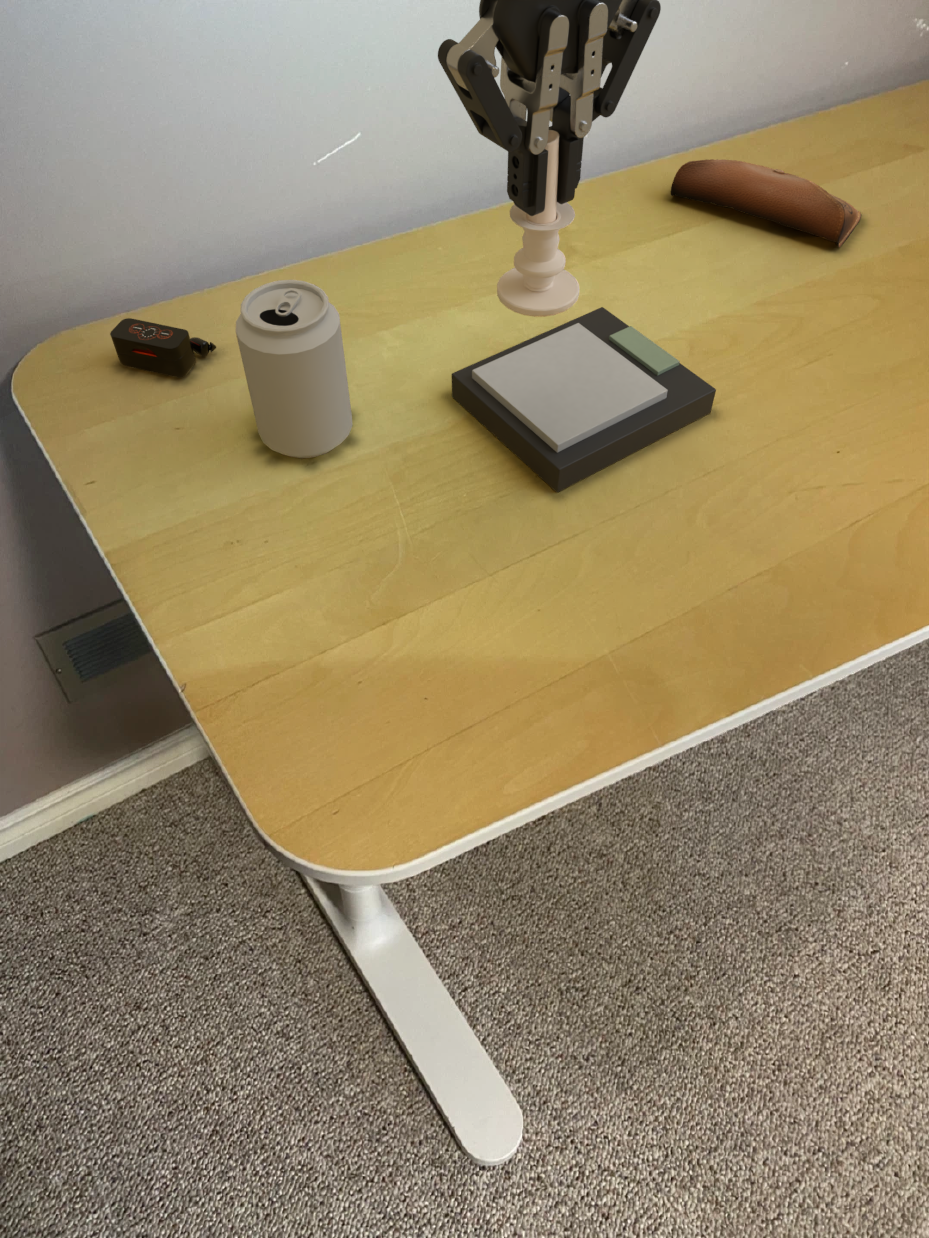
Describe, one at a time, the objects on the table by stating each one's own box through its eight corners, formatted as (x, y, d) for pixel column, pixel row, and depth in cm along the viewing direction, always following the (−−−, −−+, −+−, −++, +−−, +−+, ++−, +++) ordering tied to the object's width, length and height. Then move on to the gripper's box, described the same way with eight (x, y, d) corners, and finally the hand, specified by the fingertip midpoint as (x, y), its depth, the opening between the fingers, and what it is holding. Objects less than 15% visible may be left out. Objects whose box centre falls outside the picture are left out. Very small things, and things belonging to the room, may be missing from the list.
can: (243, 452, 76) (210, 320, 66) (286, 395, 80) (261, 264, 70) (329, 474, 74) (308, 342, 64) (368, 414, 78) (354, 283, 69)
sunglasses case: (867, 210, 96) (874, 167, 90) (835, 270, 96) (840, 232, 90) (702, 163, 103) (698, 120, 97) (672, 220, 103) (666, 181, 96)
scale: (599, 330, 85) (603, 298, 83) (711, 413, 78) (718, 381, 76) (451, 397, 80) (450, 365, 77) (557, 493, 72) (559, 461, 70)
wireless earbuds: (192, 384, 81) (183, 351, 78) (118, 368, 82) (107, 335, 80) (218, 352, 84) (210, 320, 81) (146, 337, 85) (136, 304, 83)
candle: (517, 325, 59) (523, 156, 51) (483, 281, 62) (484, 115, 54) (593, 305, 60) (611, 137, 52) (556, 263, 63) (568, 98, 55)
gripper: (493, -122, 38) (488, 271, 52) (735, -179, 43) (672, 193, 57) (389, -163, 42) (410, 213, 56) (623, -211, 47) (589, 145, 61)
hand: (543, 202), depth 56 cm, fingers closed on candle
